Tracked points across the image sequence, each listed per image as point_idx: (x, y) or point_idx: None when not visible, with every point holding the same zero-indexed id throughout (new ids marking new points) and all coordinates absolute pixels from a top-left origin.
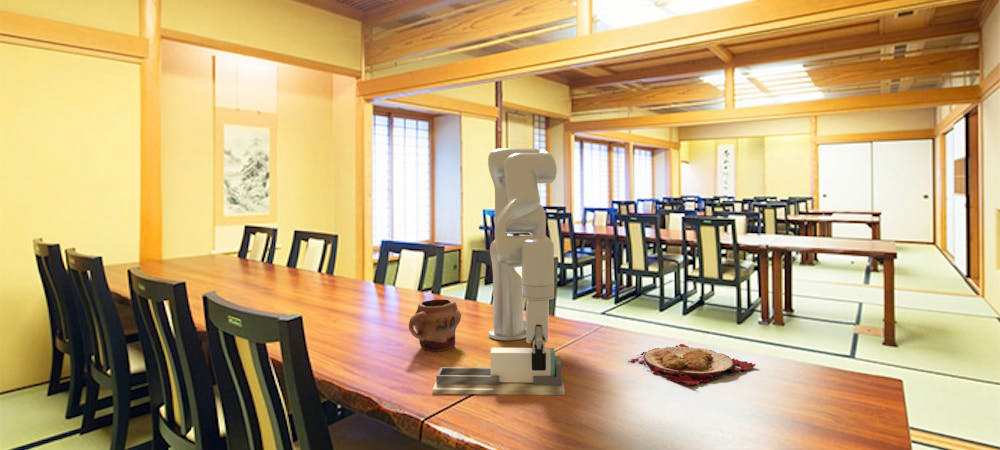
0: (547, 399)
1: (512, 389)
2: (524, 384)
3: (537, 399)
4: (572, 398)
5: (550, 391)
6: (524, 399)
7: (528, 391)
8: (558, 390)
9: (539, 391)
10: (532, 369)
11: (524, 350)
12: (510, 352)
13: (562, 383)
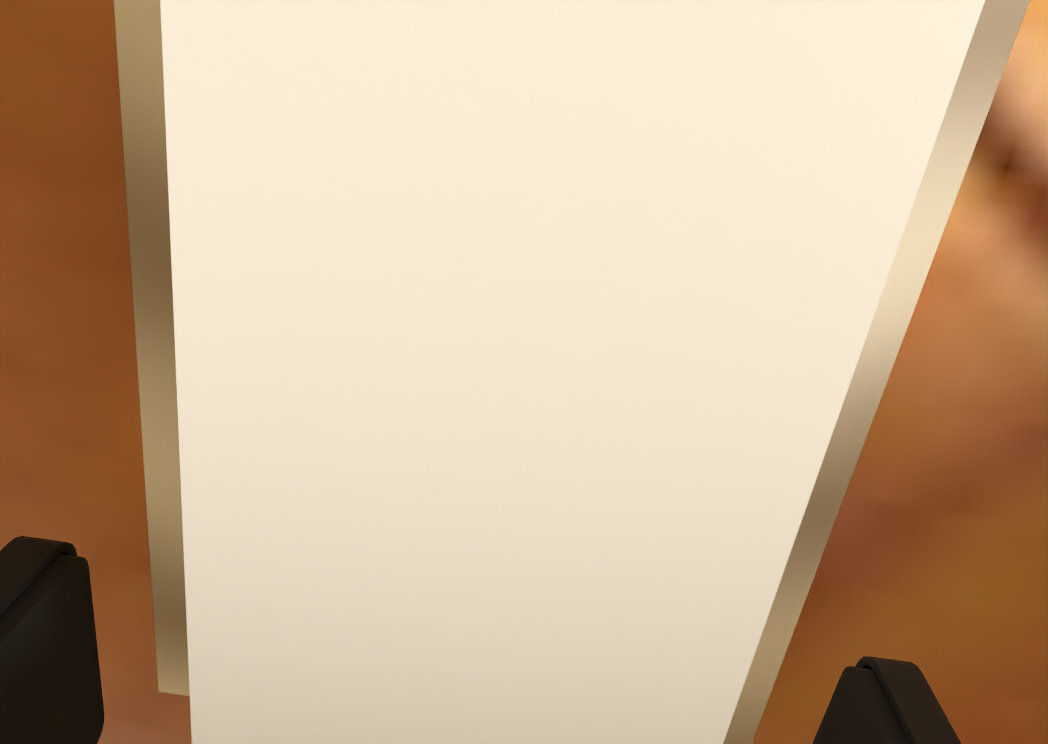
0: (48, 480)
1: (146, 83)
2: None
3: (31, 377)
4: (107, 695)
5: (156, 558)
6: (6, 222)
7: (139, 312)
8: (161, 640)
9: (148, 444)
10: (24, 546)
11: (447, 679)
12: (227, 203)
13: None
